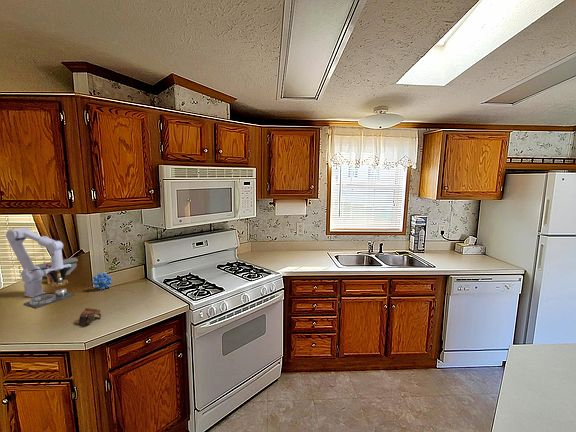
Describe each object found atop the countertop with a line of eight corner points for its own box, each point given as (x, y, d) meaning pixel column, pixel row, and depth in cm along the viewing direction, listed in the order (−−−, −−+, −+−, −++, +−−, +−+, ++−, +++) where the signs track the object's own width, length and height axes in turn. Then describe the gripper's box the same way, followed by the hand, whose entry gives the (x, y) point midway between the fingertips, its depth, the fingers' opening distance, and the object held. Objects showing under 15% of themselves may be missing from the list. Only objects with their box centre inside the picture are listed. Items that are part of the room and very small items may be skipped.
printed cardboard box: (39, 281, 211) (37, 266, 210) (36, 279, 216) (34, 265, 215) (79, 272, 231) (77, 259, 230) (75, 270, 236) (74, 257, 235)
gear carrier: (24, 304, 172) (23, 298, 171) (61, 292, 190) (60, 286, 190) (36, 308, 167) (35, 301, 166) (73, 295, 185) (73, 289, 185)
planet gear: (48, 285, 183) (47, 278, 182) (63, 281, 191) (62, 274, 190) (56, 287, 180) (55, 280, 179) (71, 282, 187) (70, 276, 187)
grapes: (95, 293, 187) (93, 276, 186) (92, 291, 192) (90, 273, 190) (115, 288, 196) (113, 271, 195) (111, 286, 201) (110, 269, 199)
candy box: (65, 281, 211) (62, 261, 209) (61, 283, 206) (59, 262, 204) (51, 282, 209) (49, 261, 207) (47, 284, 205) (45, 263, 203)
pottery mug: (75, 323, 151) (82, 306, 154) (95, 325, 156) (101, 310, 159) (78, 325, 142) (85, 308, 145) (99, 328, 147) (106, 311, 150)
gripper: (47, 264, 175) (50, 285, 177) (73, 258, 188) (75, 278, 190) (40, 262, 178) (43, 284, 179) (66, 256, 191) (68, 276, 193)
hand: (59, 281), depth 185 cm, fingers closed on planet gear, 4 cm apart
